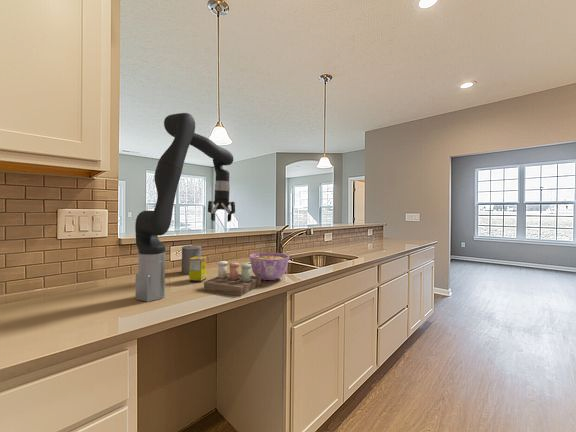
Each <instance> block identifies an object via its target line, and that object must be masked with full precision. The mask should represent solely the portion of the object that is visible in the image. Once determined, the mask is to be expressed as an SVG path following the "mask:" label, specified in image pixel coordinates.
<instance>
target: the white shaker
mask: <svg viewBox="0 0 576 432" xmlns="http://www.w3.org/2000/svg"><path fill="white" fill-rule="evenodd" d="M217 265H218V266H217V267H218V269H217V277H218V278H220V279H224V278H227V273H228V265H229V262H228V261H227V260H226V261H225V260H220V261H217Z"/></svg>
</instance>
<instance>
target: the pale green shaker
mask: <svg viewBox="0 0 576 432" xmlns="http://www.w3.org/2000/svg"><path fill="white" fill-rule="evenodd" d="M240 268H241V274H242V280H241V281H242V282H249V281H250V276H251V274H252V273H251V272H252V271H251V270H252V266H251V263H241V264H240Z"/></svg>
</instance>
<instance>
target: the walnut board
mask: <svg viewBox="0 0 576 432" xmlns="http://www.w3.org/2000/svg"><path fill="white" fill-rule="evenodd" d="M241 280H242V273H238V280H230V272H227V278H224V279H220V278H218V276H216V277H213V278H210V279H208V280H204V281H203V291H208V292H214V293H221V294H225V295H226V294H227V295H231V296H232V295H233V296H239V297H242V296H244V295H245V294H247V293H249V292H250V291H252V290H254V289H255V288H258V287H260V286H261V285H262V279H261V277H257V276H256V275H250V281H249V282H242V281H241ZM257 286H258V287H257Z"/></svg>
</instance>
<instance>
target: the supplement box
mask: <svg viewBox="0 0 576 432" xmlns="http://www.w3.org/2000/svg"><path fill="white" fill-rule="evenodd" d="M188 278H189V279H188V280H189V282H190V283H191V282H194V283H195V282H196V283H202V282H205V281H206V279H207V256H201V257H193V258H190V259H189V277H188Z"/></svg>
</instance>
